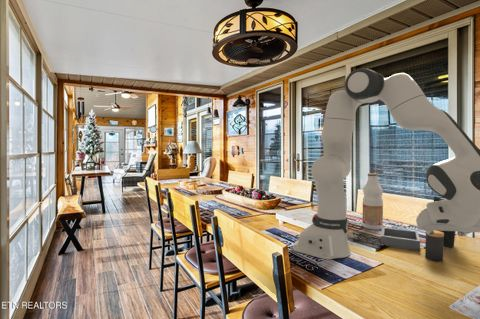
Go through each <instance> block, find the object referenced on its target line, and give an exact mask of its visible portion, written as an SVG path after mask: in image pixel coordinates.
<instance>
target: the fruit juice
mask: <svg viewBox="0 0 480 319" xmlns="http://www.w3.org/2000/svg"><path fill="white" fill-rule="evenodd" d="M367 177H368V179H367V180H366V184H365V186H363V190H362V192H363V198H362V227H363V228H365V229H368V230H373V231H374V230H375V231H377V230H378V231H379V230H382V227H384V226H383V224H384V223H383V221H384V216H383V215H384V199H383V196H382V195H383V193H384V190H383V188H382V185H381V184H380V182H379V173H377V172H375V173H374V172H370V173H367Z"/></svg>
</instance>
